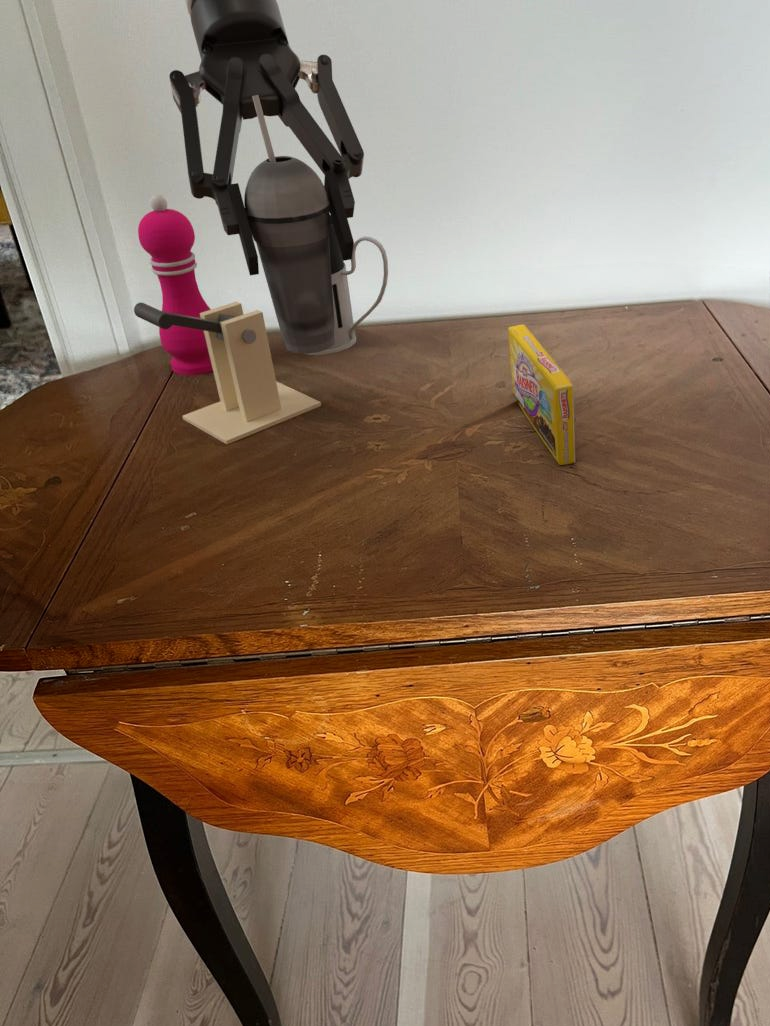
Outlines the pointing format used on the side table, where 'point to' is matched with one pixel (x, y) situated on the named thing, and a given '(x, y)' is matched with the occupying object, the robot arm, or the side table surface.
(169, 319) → the wooden stand lever
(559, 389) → the candy box
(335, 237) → the glass holder
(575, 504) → the side table surface
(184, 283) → the pepper mill
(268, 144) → the beverage cup
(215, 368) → the lever mount
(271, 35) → the robot arm
